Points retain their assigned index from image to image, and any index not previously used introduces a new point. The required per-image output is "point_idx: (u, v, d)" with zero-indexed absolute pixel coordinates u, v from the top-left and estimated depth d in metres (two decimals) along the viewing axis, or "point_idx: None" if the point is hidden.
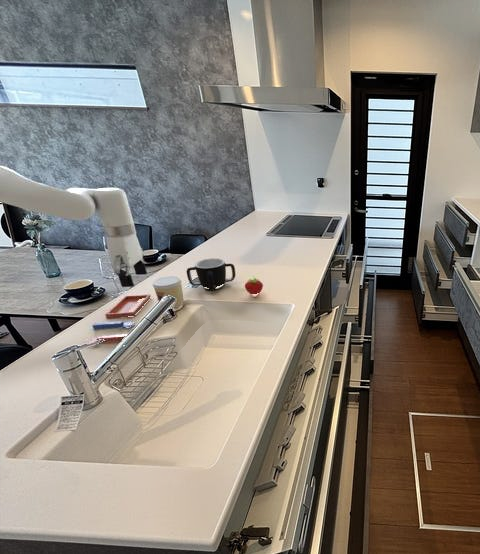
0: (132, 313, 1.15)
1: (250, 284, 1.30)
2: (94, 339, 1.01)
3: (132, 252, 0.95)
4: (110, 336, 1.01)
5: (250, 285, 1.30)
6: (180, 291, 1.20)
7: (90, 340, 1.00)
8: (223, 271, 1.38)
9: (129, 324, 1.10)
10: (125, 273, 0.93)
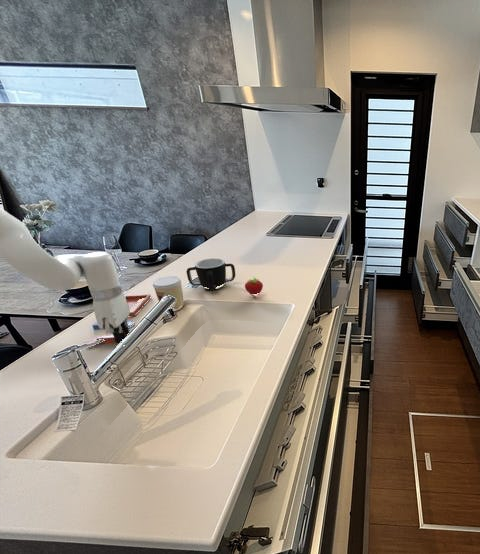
0: (132, 313, 1.15)
1: (250, 284, 1.30)
2: (94, 339, 1.01)
3: (119, 312, 0.97)
4: (110, 336, 1.01)
5: (250, 285, 1.30)
6: (180, 291, 1.20)
7: (90, 340, 1.00)
8: (223, 271, 1.38)
9: (129, 324, 1.10)
10: (119, 331, 0.99)
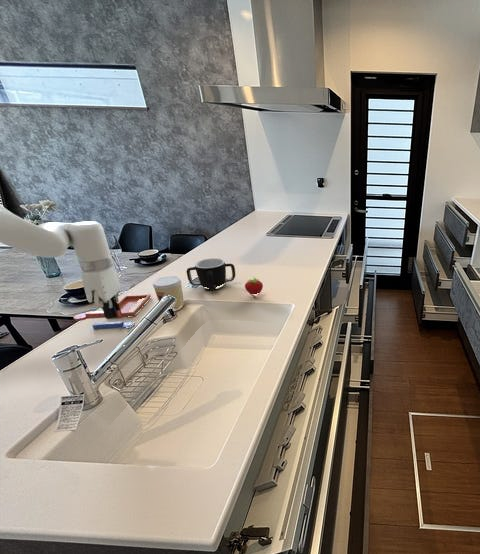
0: (132, 313, 1.15)
1: (250, 284, 1.30)
2: (83, 314, 0.97)
3: (109, 286, 0.93)
4: (100, 312, 0.97)
5: (250, 285, 1.30)
6: (180, 291, 1.20)
7: (79, 315, 0.96)
8: (223, 271, 1.38)
9: (129, 324, 1.10)
10: (109, 306, 0.95)
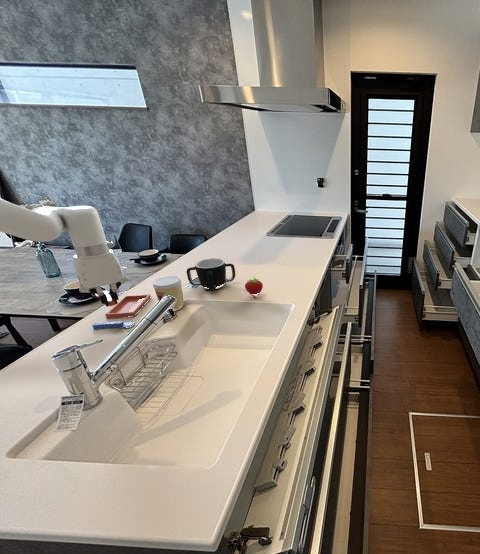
0: (132, 313, 1.15)
1: (250, 284, 1.30)
2: (104, 292, 1.02)
3: (94, 274, 0.90)
4: (106, 295, 0.98)
5: (250, 285, 1.30)
6: (180, 291, 1.20)
7: None
8: (223, 271, 1.38)
9: (129, 324, 1.10)
10: (97, 293, 0.93)
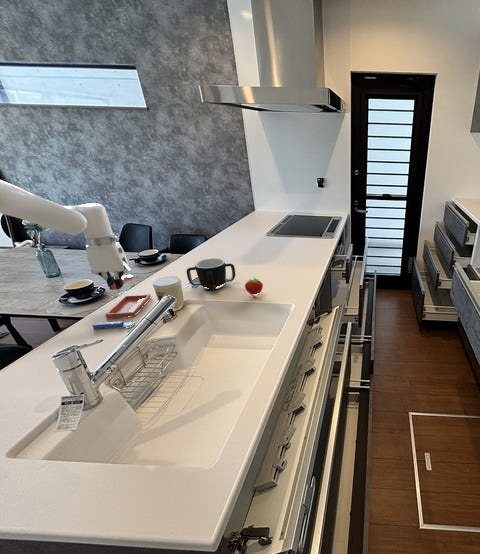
0: (132, 313, 1.15)
1: (250, 284, 1.30)
2: (128, 276, 1.20)
3: (97, 261, 1.05)
4: None
5: (250, 285, 1.30)
6: (180, 291, 1.20)
7: (128, 275, 1.21)
8: (223, 271, 1.38)
9: (129, 324, 1.10)
10: (104, 277, 1.09)
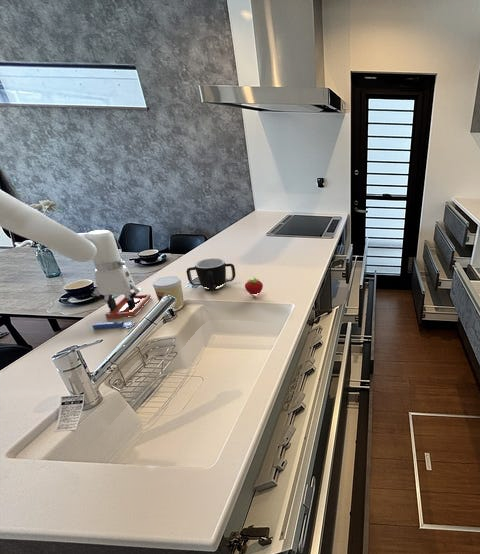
0: (132, 313, 1.15)
1: (250, 284, 1.30)
2: (135, 300, 1.24)
3: (105, 285, 1.09)
4: (127, 304, 1.19)
5: (250, 285, 1.30)
6: (180, 291, 1.20)
7: (135, 299, 1.25)
8: (223, 271, 1.38)
9: (129, 324, 1.10)
10: (104, 299, 1.12)
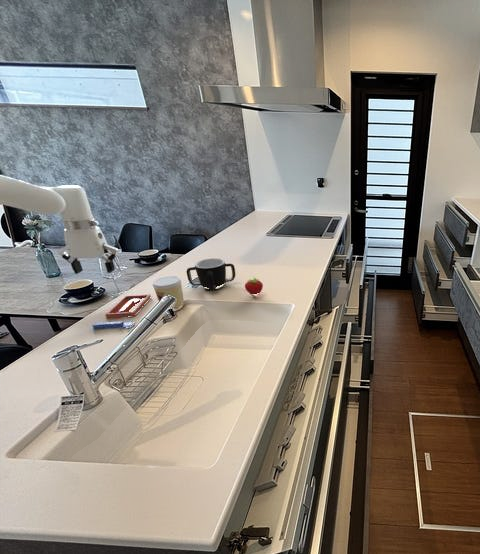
0: (132, 313, 1.15)
1: (250, 284, 1.30)
2: (135, 300, 1.24)
3: (75, 246, 1.01)
4: (127, 304, 1.19)
5: (250, 285, 1.30)
6: (180, 291, 1.20)
7: (135, 299, 1.25)
8: (223, 271, 1.38)
9: (129, 324, 1.10)
10: (68, 260, 1.03)
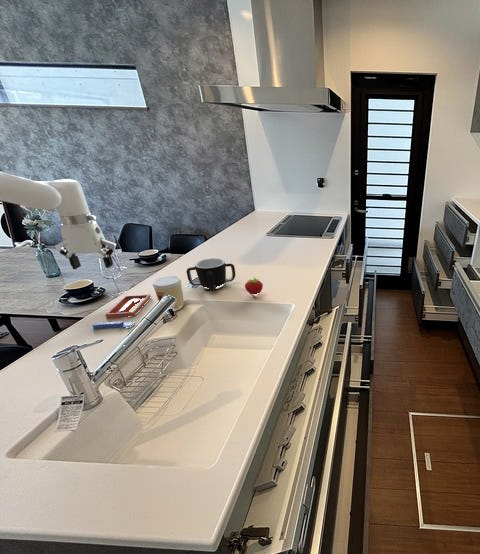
0: (132, 313, 1.15)
1: (250, 284, 1.30)
2: (135, 300, 1.24)
3: (73, 241, 1.00)
4: (127, 304, 1.19)
5: (250, 285, 1.30)
6: (180, 291, 1.20)
7: (135, 299, 1.25)
8: (223, 271, 1.38)
9: (129, 324, 1.10)
10: (66, 255, 1.03)
